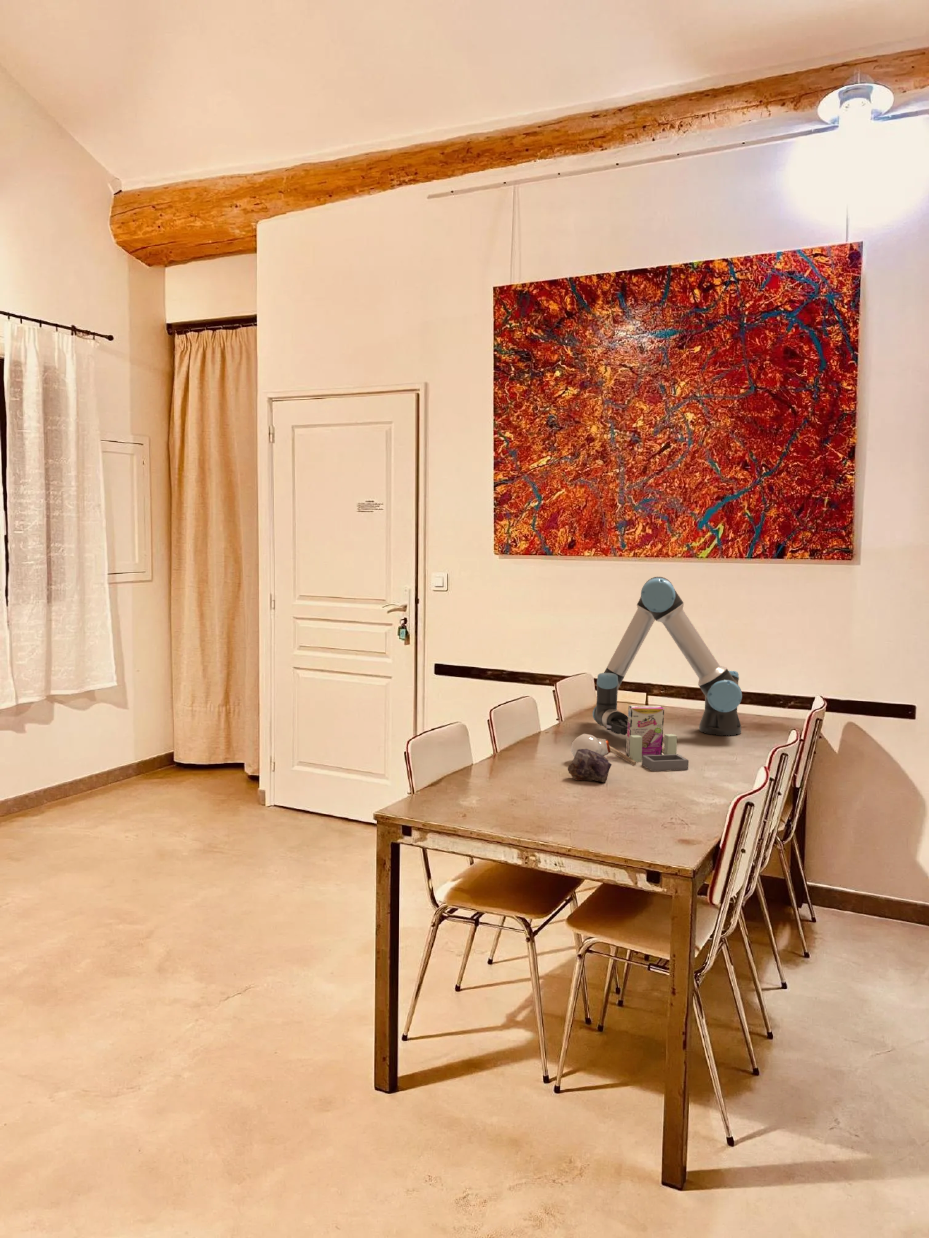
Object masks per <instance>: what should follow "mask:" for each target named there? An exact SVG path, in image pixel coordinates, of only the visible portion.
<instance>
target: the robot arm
mask: <svg viewBox="0 0 929 1238" xmlns="http://www.w3.org/2000/svg"><path fill="white" fill-rule="evenodd" d="M640 590H641V591H640V597H639V599H638V601H637V602H636V603H637V604H636V608H637V610H636V611H635V613H634V615H633V616H632V618H631V620H630V622H629V625H628V626H627V628H626V630H625V632H624V634H623V635H622V638H621V640H620V642H619V643H618V645H617V647H616V649H615V651H614V653H613V654H612V657H611V659H610V660H609V662H608V664H607V666H606V667H605V670H604V672H602V673H599V674H597V679H596V703H595V704H596V705H595V706H594V708H593V710H592V718H593V720H594V721H595V722H596V723H597V724H598V725H600V726H602V727H604V728H606V731H611V732H612V733H614V734H617V735H622V736H627V726H628V715H626V713H623V712H621V711H619V710H618V691H619V688H620V686H621V685H622V682H623V680H624V679H625V677H626V675H627V673H628V671H629V669H630V668H631V666H632V664H633V662H634V660H635V658H636V657H637V656H636V655H637V654H638V652H639V650H640V649H641V647H642V645H643V643H644V642H645V639H646V638H647V636H648V634H649V632H650V630H651V628H652V626H653V624H654V623H655V622H658V623H661V624H662V625H663V626H664V627H665V629H666V631H667V632H668V633H669V635H670V636H671V638H672V640H673V642H674V643H675V644H676V646H677V647H678V649H679V650H680V652H681V653H682V656H684V658H685V659H686V660H687V662H688V665H690V667H691V668H692V670H693V671H694V673H695V675H696V676H697V678H698V683H697V686H698V687H699V689H700V690H701V692H702V693H703V695H704V698H705V699H704V711H703V714H702V716H701V719H700V721H699V724H698V725H699V726H698V730H699V731H700V732H701V733H703V732H704V733H703V734H708V735H712V734H716V735H715V736H723V735H726V736H727V735H728V737H729V736H730V735H731V736H737V735H736V734H738V735H741V734H742V725H741V721H740V718H739V714H738V707H739V705H740V704H741V702H742V699H743V693H742V689H741V687H740V685H739V680H740V676H739V672H738V671H735V670H729V669H728V668H727V667H725V666H722V665H720V663H719V662H718V661H717V659H716V658H715V656H714V655H713V653H712V651H711V650H710V649H709V646H708V645H707V644H706V643H705V641H704V639H703V638H702V636H701V635H700V633H699V632H698V631H697V629H696V627H695V626H694V624H693V623H692V621H691V620H690V618H689V616H688V615H687V613H686V612H685V611H684V604H685V602H684V600H682V598H681V597H680V595H679V594H678V593H677V590H676V589H675V587H674V585H673V583H672V582H671V581H670V580H669V579H667V578H665V577H663V576H654V577H651V578H649V579H648V580H646V582H644V584H643V585H642V588H641V589H640ZM740 733H741V734H740Z"/></svg>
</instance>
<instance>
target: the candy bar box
mask: <svg viewBox="0 0 929 1238" xmlns="http://www.w3.org/2000/svg"><path fill="white" fill-rule="evenodd" d="M627 717H628V726H627V734H626V747H625V748H626V749H625V750H626V751H625V752H626V755H627V757H629V750H630V735H639V736H641V737H642V756H643V755H663V752H662V747H663V743H664V740H663V738H664V720H665V708H664V707H663V706H661V705H628V708H627Z"/></svg>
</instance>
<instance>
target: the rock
mask: <svg viewBox="0 0 929 1238" xmlns="http://www.w3.org/2000/svg"><path fill="white" fill-rule="evenodd" d="M612 765H613V764H612V763H611V762H610V761H609V759H607V758H606V757H605V756H602V755H601V754H599V753H596V752H594V751H591V750H588V749H578V750H577V752H576V754H575V757H574V756H573V759H572V761H571V763H570V764H568V767H567V772H568V774H570V777H571V778H572V779H574V780H576V781H588V782H591V781H596V782H598V783H599V782H600V783H606V782H607V781H608V777H609V773H610V769H611V767H612Z"/></svg>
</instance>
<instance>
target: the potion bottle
mask: <svg viewBox="0 0 929 1238" xmlns="http://www.w3.org/2000/svg"><path fill="white" fill-rule="evenodd" d="M609 745H610V742H609V740H608V739H605V738H600V737H596V736H594V735H592V734H588V733H582V734H580V735H579V736H576V738H574V740H573V741H572V742H571V750H570V751H571V754H572V756H573V758H574V757H575V754H576V752H577V750H578V749H588V750H591V751H594V752H596V753H599V754H601V755H602V756H603V757H605V756H607V755H608V754H610V753H611V751H610V747H609Z"/></svg>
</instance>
